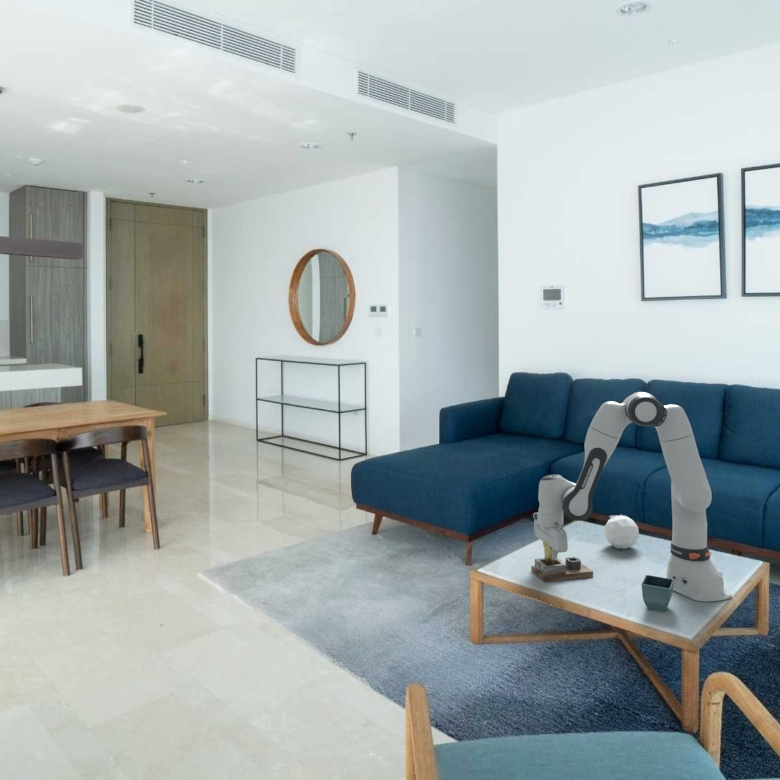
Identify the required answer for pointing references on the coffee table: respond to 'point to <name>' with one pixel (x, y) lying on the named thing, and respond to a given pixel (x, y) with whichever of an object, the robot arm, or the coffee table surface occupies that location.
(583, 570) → the board
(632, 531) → the geodesic sphere
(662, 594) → the flower pot
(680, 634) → the coffee table surface
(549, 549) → the brass cylinder rod
